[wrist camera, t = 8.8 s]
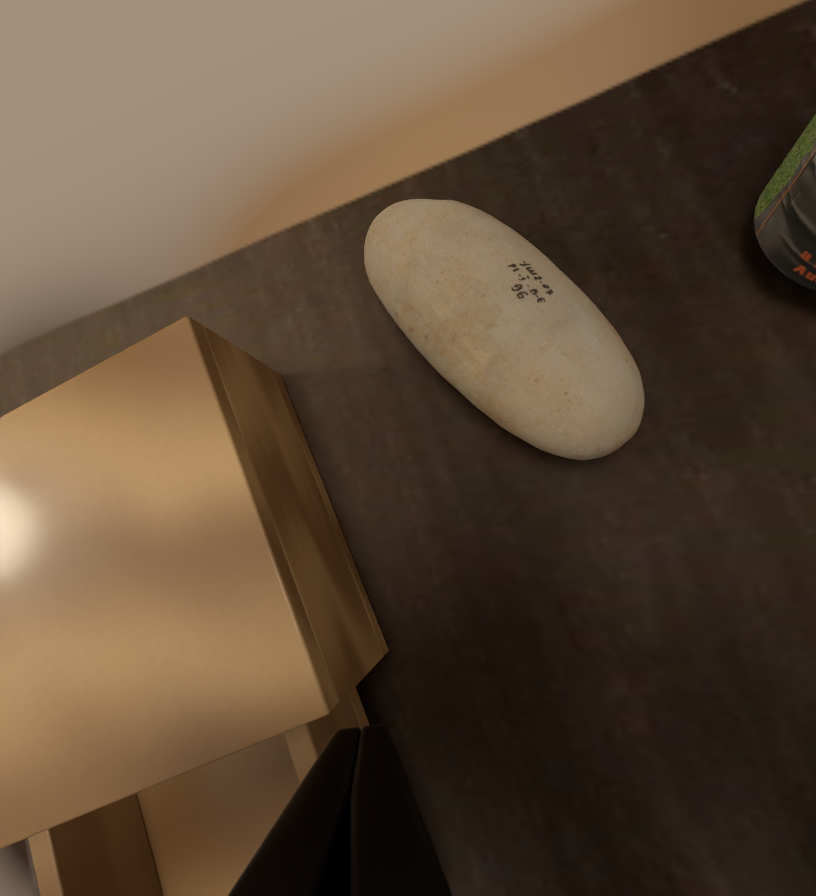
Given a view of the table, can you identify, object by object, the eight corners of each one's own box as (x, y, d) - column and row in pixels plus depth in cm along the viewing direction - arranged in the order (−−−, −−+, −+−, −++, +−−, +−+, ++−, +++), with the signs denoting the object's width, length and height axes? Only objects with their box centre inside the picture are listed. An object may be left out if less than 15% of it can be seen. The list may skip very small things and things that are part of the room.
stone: (421, 155, 19) (737, 255, 13) (442, 288, 24) (675, 405, 18) (306, 233, 18) (605, 390, 11) (355, 358, 23) (579, 513, 17)
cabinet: (389, 651, 19) (330, 715, 13) (124, 762, 21) (-46, 868, 15) (280, 374, 22) (187, 314, 16) (53, 491, 24) (-117, 479, 17)
